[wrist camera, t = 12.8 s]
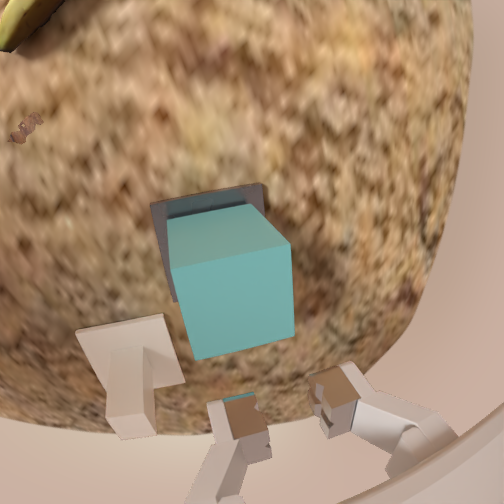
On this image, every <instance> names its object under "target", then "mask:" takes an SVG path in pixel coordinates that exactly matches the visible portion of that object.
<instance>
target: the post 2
mask: <svg viewBox="0 0 504 504" xmlns="http://www.w3.org/2000/svg"><path fill="white" fill-rule="evenodd" d="M246 204H252V205H253V206H254V207H255V208H256V209H257V210H258V211H259V212H260V213H261V214H262V215H263V216H264V217H265V210H264V200H263V190H262V184H261V183H260V182H259V183H253V184H247V185H241V186H235V187H229V188H224V189H218V190H213V191H207V192H202V193H197V194H191V195H186V196H181V197H176V198H171V199H167V200H162V201H157V202H152V203H150V208H151V212H152V217H153V221H154V226H155V230H156V235H157V239H158V243H159V248H160V252H161V256H162V260H163V264H164V268H165V272H166V276H167V280H168V284H169V287H170V291H171V295H172V299H173V302H178V298H177V294H176V290H175V286H174V282H173V278H172V274H171V270H170V260H169V247H168V233H167V220H169V219H174V218H179V217H184V216H188V215H193V214H198V213H204V212H209V211H214V210H219V209H224V208H229V207H235V206H240V205H246Z"/></svg>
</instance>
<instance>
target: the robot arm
mask: <svg viewBox="0 0 504 504" xmlns="http://www.w3.org/2000/svg"><path fill="white" fill-rule="evenodd" d="M308 384H309V385H310V389H309V390H308V400H309V404H310V407H311V409H312V411H313V413H314V415H315V416H317V417H320V426H321V428H322V430H323V432H324V434H325V435H326V437H327V439H330V438H333V437H335V436H338V435H341V434H343V433H346V432H349V431H351V432H352V433H354V434H355V435H357V436H359V437H361V438H362V439H364V440H366V441H368V442H369V443H371V444H373V445H375V446H377V447H379V448H380V449H382V450H384V451H386V452H388V453H390V454H392V456H391V458H390V460H389V462H388V464H387V466H386V468H385V471H386V472H387V474H388V476H389V477H390V479H389V480H387V481H385V482H383V483H381V484H379V485H377V486H375V487H373V488H371V489H369V490H367V491H365V492H362V493H360V494H358V495H356V496H353V497H351V498H349V499H347V500H344V501H342V502H339V503H337V504H504V402H503V403H502V404H501V405H500V406H499V407H497V408H496V409H495V410H494V411H492V412H491V413H490V414H489V415H488V416H486V417H485V418H484V419H483V420H481V421H480V422H479V423H477V424H476V425H475V426H473V427H472V428H471V429H470V430H468V431H467V432H465V433H464V434H463V435H461V436H460V437H458V435H457V434H456V433H455V432H454V431H453V430H452V428H451V427H450V426H449V425H448V423H447V422H446V421H445V420H444V419H443V417H442V416H441V415H440V414H439V413H438V412H437V411H434V410H431V409H428V408H425V407H422V406H420V405H417V404H414V403H412V402H409V401H406V400H403V399H401V398H398V397H396V396H393V395H390V394H387V393H385V392H382V391H377V392H376V391H375V390H374V389H373V387H372V386H371V385H370V383H369V382H368V381H367V380H366V378H365V377H364V375H363V374H362V373H361V371H360V370H359V369H358V368H357V366H356V365H355V364H354V362H352V361H351V360H350V361H347V362H345V363H342V364H339V365H337V366H333V367H330V368H327V369H324V370H322V371H319V372H316V373H313V374H310V375H309V376H308ZM223 402H224V403H223ZM224 406H225V407H224ZM207 409H208V413H209V418H210V422H211V426H212V430H213V434H214V438H215V442H216V444H214V445H211V447H210V449H209V452H208V453H207V456H206V458H205V460H204V462H203V464H202V466H201V468H200V470H199V473H198V475H197V477H196V479H195V481H194V483H193V485H192V487H191V489H190V492H189V493H188V496H187V498H186V500H185V502H184V504H245V502H244V499H243V497H241V496H239V492H240V489H241V486H242V483H243V479H244V476H245V473H246V470H247V465H249V464H253V463H257V462H260V461H263V460H266V459H270V458H272V453H271V447H270V445H269V442H270V438H269V432H268V428H267V425H266V423H265V420H264V417H263V415H262V412H260V411H259V408H258V403H257V399H256V397H255V394H254V392H251V393H246V394H242V395H237V396H233V397H228V398H224V399H223V400H222V399H219V400H215V401H210V402H207ZM225 409H226V410H225Z"/></svg>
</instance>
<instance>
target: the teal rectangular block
mask: <svg viewBox="0 0 504 504" xmlns="http://www.w3.org/2000/svg"><path fill="white" fill-rule="evenodd" d="M167 233H168V247H169V260H170V270H171V274H172V278H173V282H174V286H175V290H176V294H177V298H178V302H179V305H180V309H181V313H182V317H183V320H184V324H185V327H186V331H187V334H188V338H189V341H190V345H191V348H192V351H193V355H194V358H195V361H197V360H202V359H206V358H210V357H215V356H219V355H223V354H228V353H232V352H236V351H240V350H244V349H248V348H252V347H256V346H260V345H263V344H267V343H271V342H274V341H278V340H282V339H285V338H289V337H292V336H295V328H294V303H293V281H292V262H291V245H290V243H289V242H288V241H287V240H286V239H285V238H284V237H283V236H282V235H281V234H280V233H279V232H278V231H277V230H276V229H275V227H274V226H273V225H272V224H271V223H270V222H269V221H268V220H267V219H266V218H265V217H264V216H263V215H262V214H261V213H260V212H259V211H258V210H257V209H256V208H255V207H254V206H253V205H252V204H246V205H240V206H235V207H229V208H224V209H219V210H214V211H209V212H204V213H198V214H193V215H188V216H184V217H179V218H174V219H169V220H167Z"/></svg>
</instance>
